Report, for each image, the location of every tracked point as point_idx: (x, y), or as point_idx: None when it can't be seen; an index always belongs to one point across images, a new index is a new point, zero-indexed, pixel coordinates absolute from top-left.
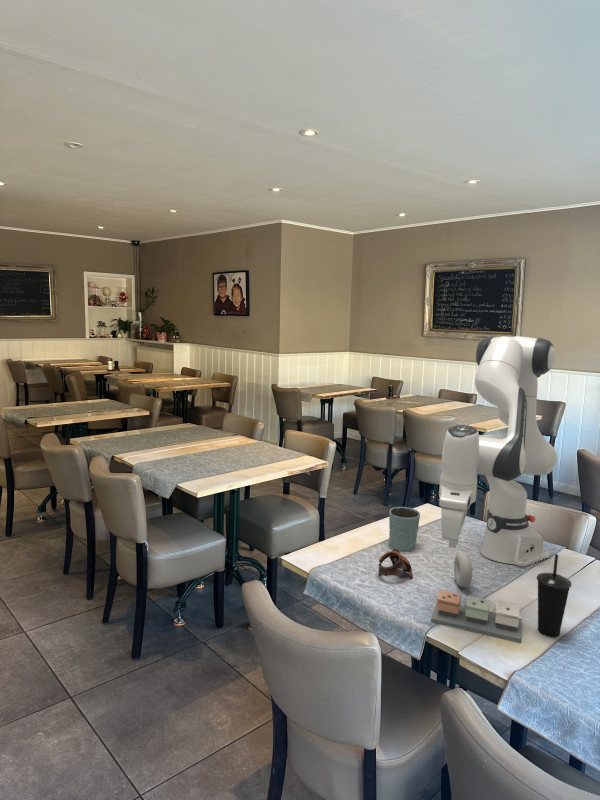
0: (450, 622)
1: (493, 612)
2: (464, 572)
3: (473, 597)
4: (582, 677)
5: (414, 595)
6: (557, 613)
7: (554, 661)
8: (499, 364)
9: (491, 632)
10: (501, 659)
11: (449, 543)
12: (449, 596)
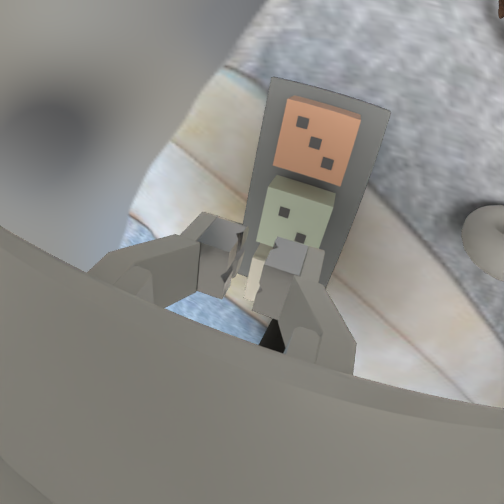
0: (263, 129)
1: (339, 252)
2: (473, 238)
3: (324, 220)
4: (174, 312)
5: (429, 51)
6: None
7: (198, 296)
8: None
9: (243, 221)
10: (170, 215)
11: (192, 222)
12: (313, 143)
